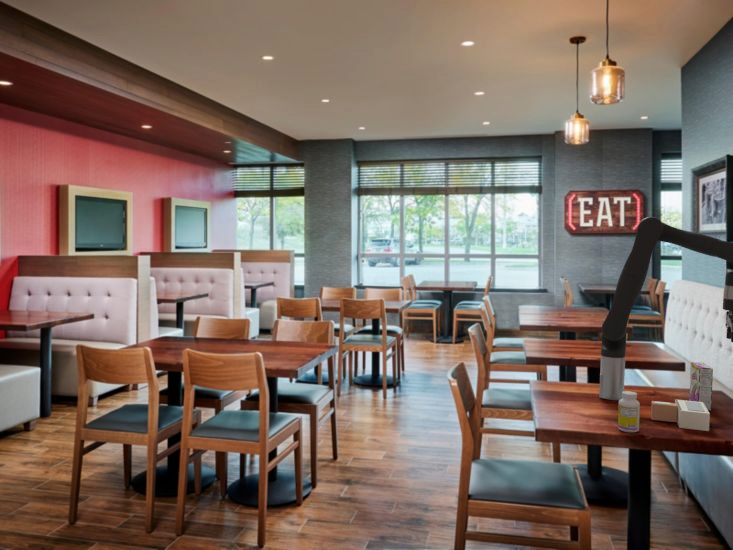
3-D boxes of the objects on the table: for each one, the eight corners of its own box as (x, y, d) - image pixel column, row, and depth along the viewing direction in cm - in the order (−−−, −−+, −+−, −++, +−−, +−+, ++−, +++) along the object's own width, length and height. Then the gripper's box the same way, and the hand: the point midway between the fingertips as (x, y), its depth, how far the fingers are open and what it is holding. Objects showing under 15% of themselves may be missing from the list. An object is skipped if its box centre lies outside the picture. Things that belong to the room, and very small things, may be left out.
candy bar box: (688, 402, 243) (690, 361, 242) (701, 403, 242) (703, 362, 241) (697, 409, 232) (699, 367, 231) (711, 410, 231) (713, 368, 230)
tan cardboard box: (651, 419, 218) (652, 403, 218) (650, 416, 222) (651, 400, 221) (676, 422, 215) (677, 405, 215) (675, 419, 219) (676, 402, 218)
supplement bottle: (624, 425, 211) (625, 389, 210) (642, 430, 206) (644, 393, 205) (613, 429, 207) (615, 392, 206) (632, 434, 201) (634, 396, 201)
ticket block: (679, 427, 209) (680, 410, 209) (674, 415, 224) (675, 398, 224) (708, 431, 206) (709, 413, 206) (702, 418, 221) (702, 401, 221)
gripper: (719, 295, 237) (717, 337, 238) (727, 298, 223) (724, 342, 224) (742, 296, 234) (739, 338, 235) (750, 300, 221) (747, 344, 222)
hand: (732, 340), depth 230 cm, fingers open, 8 cm apart
